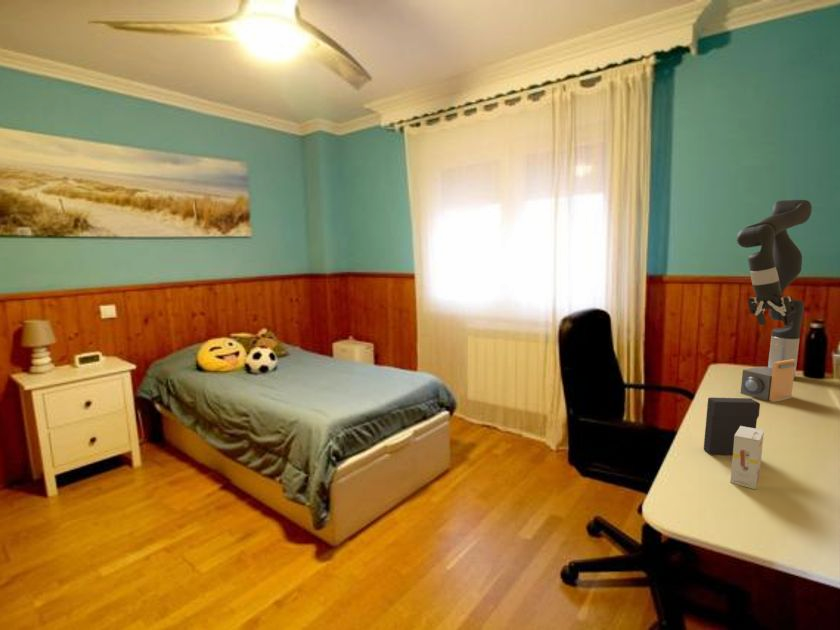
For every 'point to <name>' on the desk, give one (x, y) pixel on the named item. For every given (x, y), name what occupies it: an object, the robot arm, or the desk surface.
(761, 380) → the camera housing
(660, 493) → the desk surface
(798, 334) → the robot arm
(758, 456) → the ink box
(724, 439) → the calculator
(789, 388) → the side door
